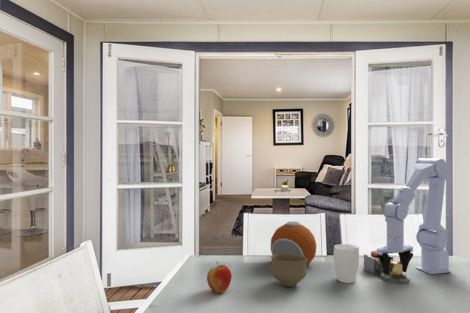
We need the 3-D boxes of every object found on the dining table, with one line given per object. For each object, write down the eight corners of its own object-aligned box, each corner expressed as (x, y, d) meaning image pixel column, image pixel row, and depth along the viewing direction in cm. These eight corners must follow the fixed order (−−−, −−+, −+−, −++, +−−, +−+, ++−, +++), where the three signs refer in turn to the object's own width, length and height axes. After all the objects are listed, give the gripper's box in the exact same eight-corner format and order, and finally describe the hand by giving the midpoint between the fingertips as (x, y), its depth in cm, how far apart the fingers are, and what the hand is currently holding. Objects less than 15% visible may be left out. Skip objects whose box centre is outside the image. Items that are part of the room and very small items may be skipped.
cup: (361, 285, 124) (361, 251, 124) (334, 283, 126) (334, 249, 126) (357, 276, 133) (357, 244, 133) (332, 274, 135) (332, 243, 135)
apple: (222, 298, 113) (222, 267, 113) (202, 293, 118) (202, 263, 118) (236, 290, 120) (235, 260, 120) (216, 285, 125) (216, 257, 125)
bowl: (309, 280, 129) (309, 253, 129) (304, 293, 117) (304, 263, 117) (275, 276, 133) (275, 249, 133) (267, 288, 121) (267, 259, 121)
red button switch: (378, 264, 147) (378, 248, 147) (415, 281, 128) (415, 262, 128) (358, 267, 144) (358, 249, 144) (393, 284, 125) (393, 264, 125)
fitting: (396, 275, 134) (396, 259, 134) (406, 280, 129) (406, 264, 129) (384, 276, 133) (384, 260, 133) (393, 281, 128) (393, 265, 128)
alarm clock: (322, 261, 151) (322, 221, 151) (308, 273, 136) (308, 228, 136) (280, 255, 161) (280, 217, 161) (263, 265, 146) (263, 223, 146)
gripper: (403, 232, 137) (403, 267, 137) (371, 234, 133) (371, 270, 133) (417, 236, 130) (417, 273, 130) (384, 239, 126) (384, 277, 126)
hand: (394, 272), depth 131 cm, fingers open, 7 cm apart
